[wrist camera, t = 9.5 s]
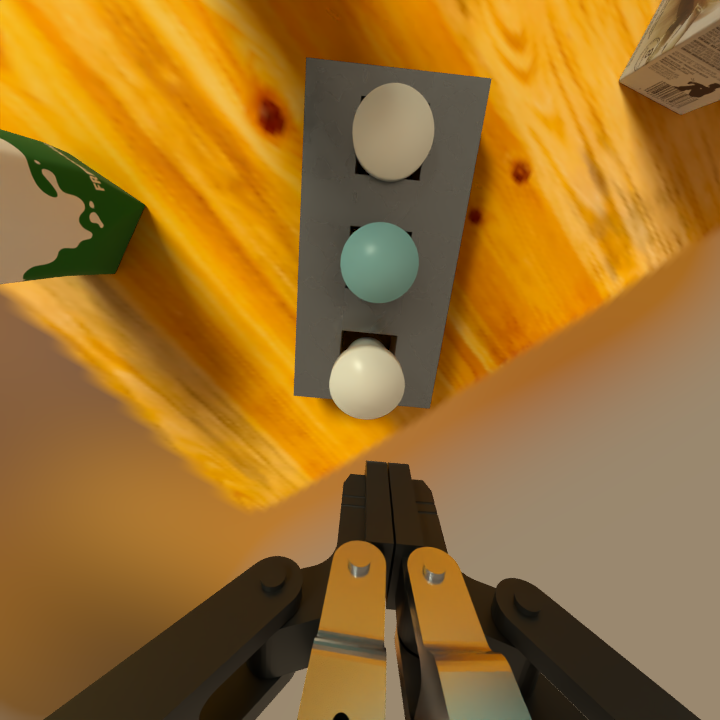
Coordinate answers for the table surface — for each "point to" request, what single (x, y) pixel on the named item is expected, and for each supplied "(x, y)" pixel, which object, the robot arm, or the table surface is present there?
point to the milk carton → (58, 214)
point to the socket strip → (381, 204)
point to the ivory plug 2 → (367, 380)
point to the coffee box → (679, 56)
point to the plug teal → (379, 262)
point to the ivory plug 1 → (392, 131)
